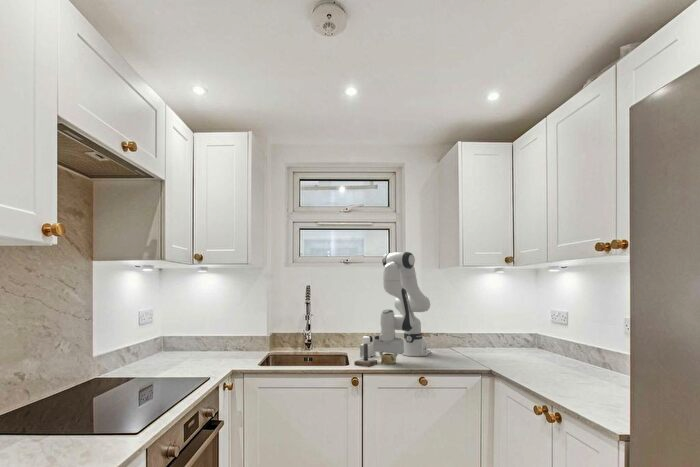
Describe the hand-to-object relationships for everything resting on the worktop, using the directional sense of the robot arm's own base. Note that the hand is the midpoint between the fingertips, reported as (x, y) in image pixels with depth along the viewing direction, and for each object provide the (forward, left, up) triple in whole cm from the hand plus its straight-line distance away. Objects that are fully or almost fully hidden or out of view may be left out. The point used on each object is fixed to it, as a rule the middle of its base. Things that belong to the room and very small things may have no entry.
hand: (388, 360), depth 248 cm
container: (-12, -22, -2) cm, 25 cm away
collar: (0, 0, -2) cm, 2 cm away
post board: (+10, -10, -2) cm, 14 cm away
